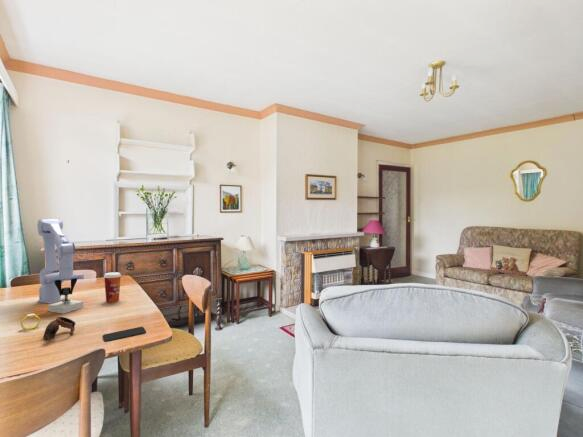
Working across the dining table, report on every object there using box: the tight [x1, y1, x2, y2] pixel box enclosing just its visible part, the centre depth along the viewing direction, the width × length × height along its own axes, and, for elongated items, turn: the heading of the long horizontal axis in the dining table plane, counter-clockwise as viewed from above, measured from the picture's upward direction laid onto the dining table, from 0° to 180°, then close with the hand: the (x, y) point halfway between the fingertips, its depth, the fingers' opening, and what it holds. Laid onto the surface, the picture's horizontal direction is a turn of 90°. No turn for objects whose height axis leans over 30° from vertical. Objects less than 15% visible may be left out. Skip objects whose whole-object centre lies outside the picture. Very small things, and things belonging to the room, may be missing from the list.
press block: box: [47, 298, 84, 314], centre depth 152 cm, size 10×10×3 cm
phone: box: [102, 326, 147, 343], centre depth 124 cm, size 7×1×15 cm
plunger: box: [61, 286, 71, 303], centre depth 151 cm, size 4×4×7 cm
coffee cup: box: [103, 271, 122, 304], centre depth 166 cm, size 8×8×15 cm
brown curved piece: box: [42, 316, 76, 341], centre depth 121 cm, size 12×10×8 cm
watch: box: [20, 313, 41, 330], centre depth 128 cm, size 6×3×6 cm, turn 128°
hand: (66, 294), depth 151 cm, fingers closed on plunger, 4 cm apart
